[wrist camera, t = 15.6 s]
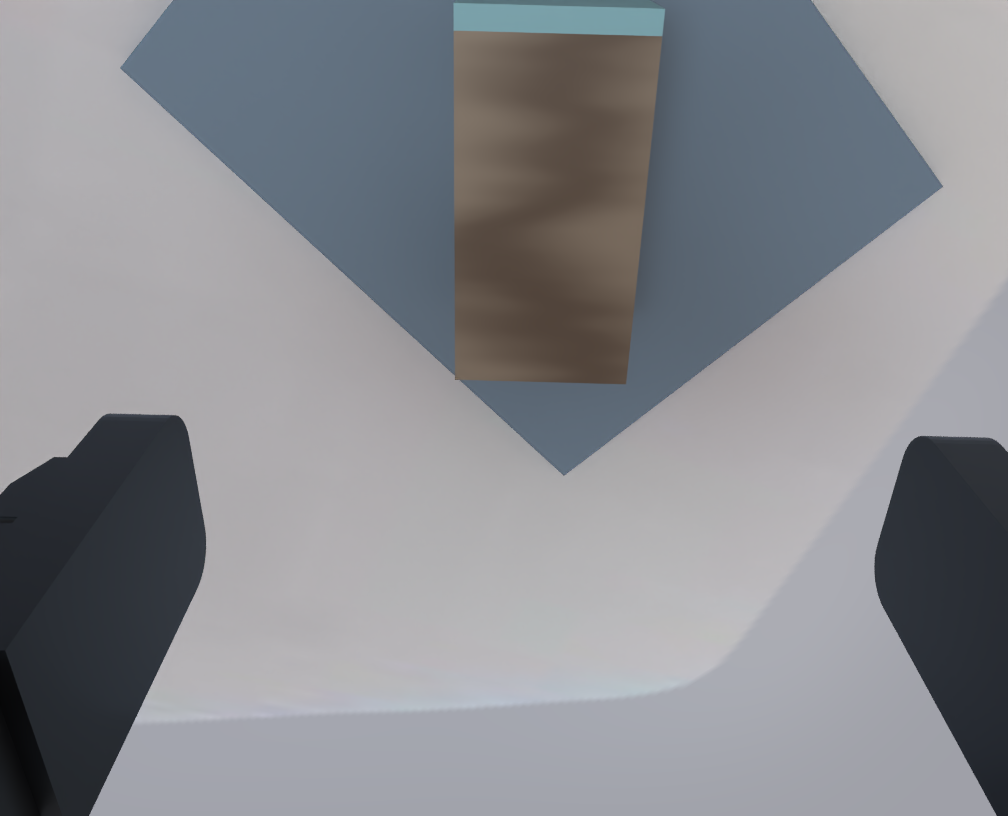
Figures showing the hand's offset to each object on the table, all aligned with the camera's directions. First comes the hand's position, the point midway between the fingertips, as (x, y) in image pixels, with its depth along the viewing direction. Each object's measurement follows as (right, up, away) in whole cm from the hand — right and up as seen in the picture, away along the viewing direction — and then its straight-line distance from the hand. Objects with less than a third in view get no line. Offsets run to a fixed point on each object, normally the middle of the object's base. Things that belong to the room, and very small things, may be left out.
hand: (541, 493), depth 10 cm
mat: (+1, +10, +17) cm, 20 cm away
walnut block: (+1, +3, +18) cm, 18 cm away
